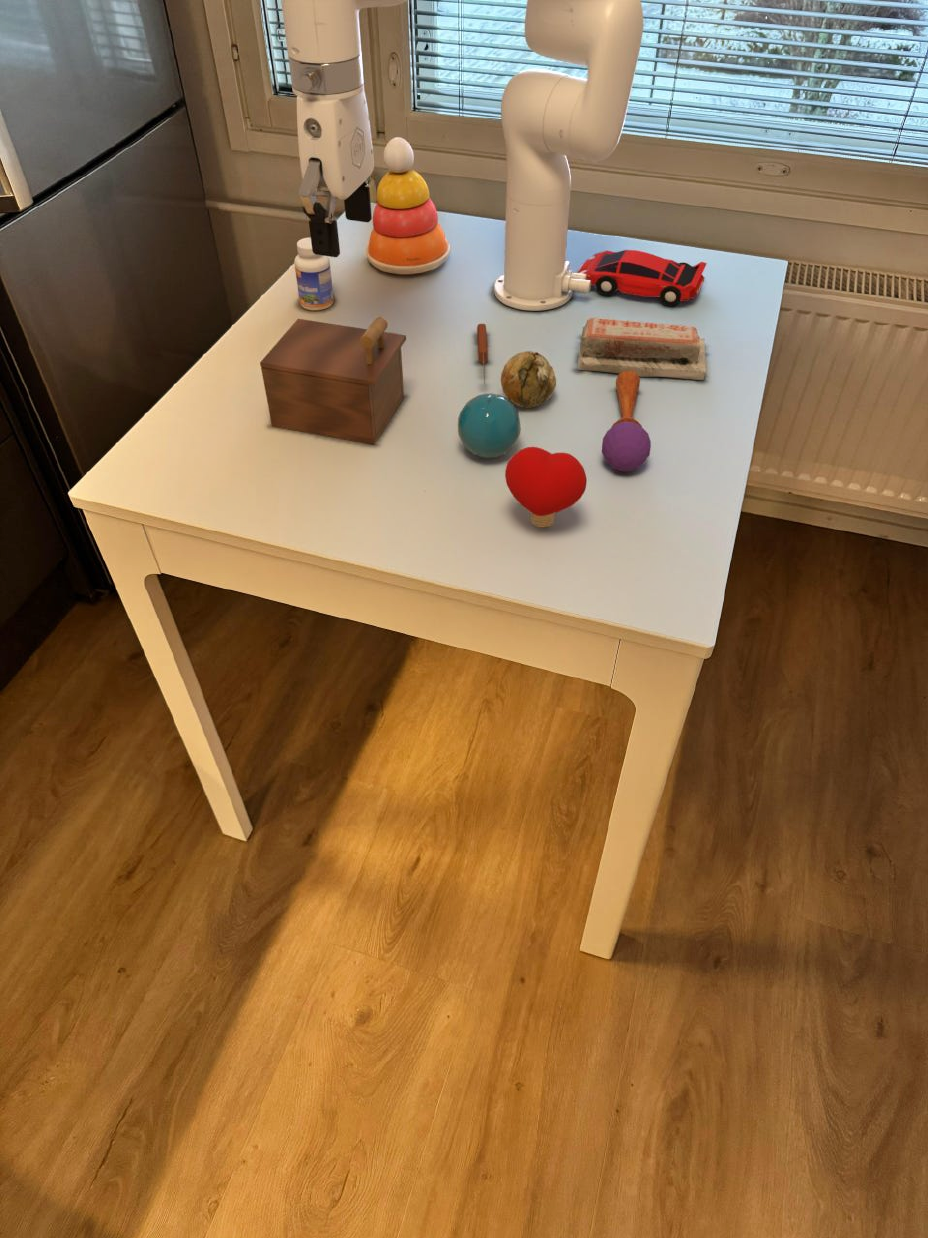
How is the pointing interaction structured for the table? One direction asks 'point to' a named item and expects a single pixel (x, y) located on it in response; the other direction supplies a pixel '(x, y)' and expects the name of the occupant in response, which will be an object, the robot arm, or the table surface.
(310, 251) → the pill bottle
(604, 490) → the table surface
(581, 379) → the table surface
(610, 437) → the purple maraca
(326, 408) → the chest
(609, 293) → the toy car
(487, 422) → the ball
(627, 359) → the packaged product
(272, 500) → the table surface
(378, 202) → the stacking toy
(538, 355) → the cracked brown sphere
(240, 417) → the table surface
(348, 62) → the robot arm
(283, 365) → the lid
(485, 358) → the brown screwdriver
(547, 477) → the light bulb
